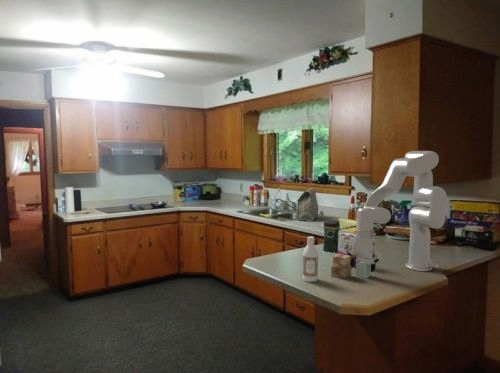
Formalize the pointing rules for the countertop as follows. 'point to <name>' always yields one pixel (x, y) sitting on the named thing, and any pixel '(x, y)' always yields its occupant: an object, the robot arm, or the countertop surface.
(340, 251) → the candy bar box
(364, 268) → the sage block
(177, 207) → the countertop surface
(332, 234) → the coffee jar
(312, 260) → the bath foam
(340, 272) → the walnut base
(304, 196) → the bag
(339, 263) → the oak top
